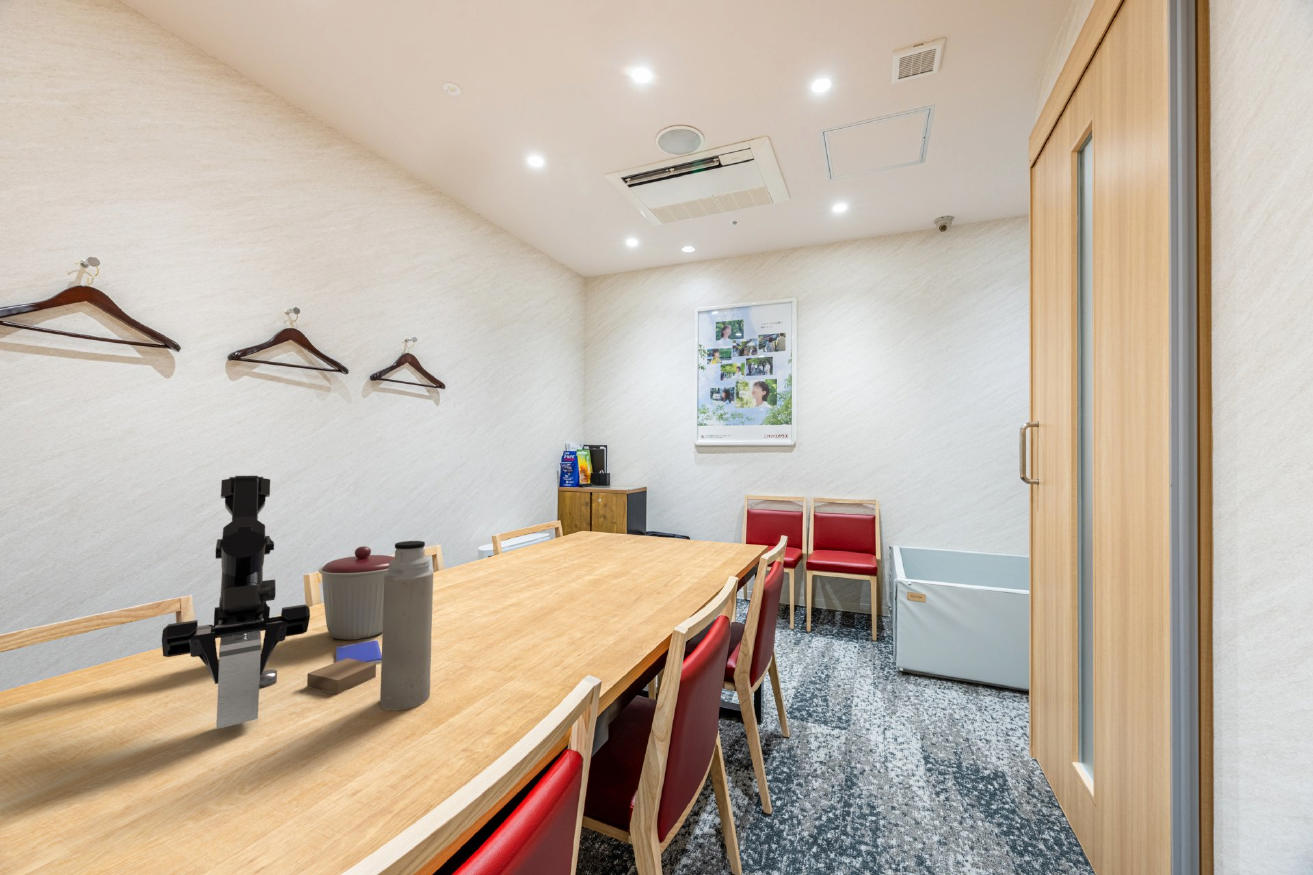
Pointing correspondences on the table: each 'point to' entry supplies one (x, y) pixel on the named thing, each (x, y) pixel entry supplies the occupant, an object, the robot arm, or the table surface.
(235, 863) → the table surface
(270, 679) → the steel puck
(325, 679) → the stand
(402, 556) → the thermos bottle
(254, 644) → the plate
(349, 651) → the hard drive
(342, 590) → the canister
